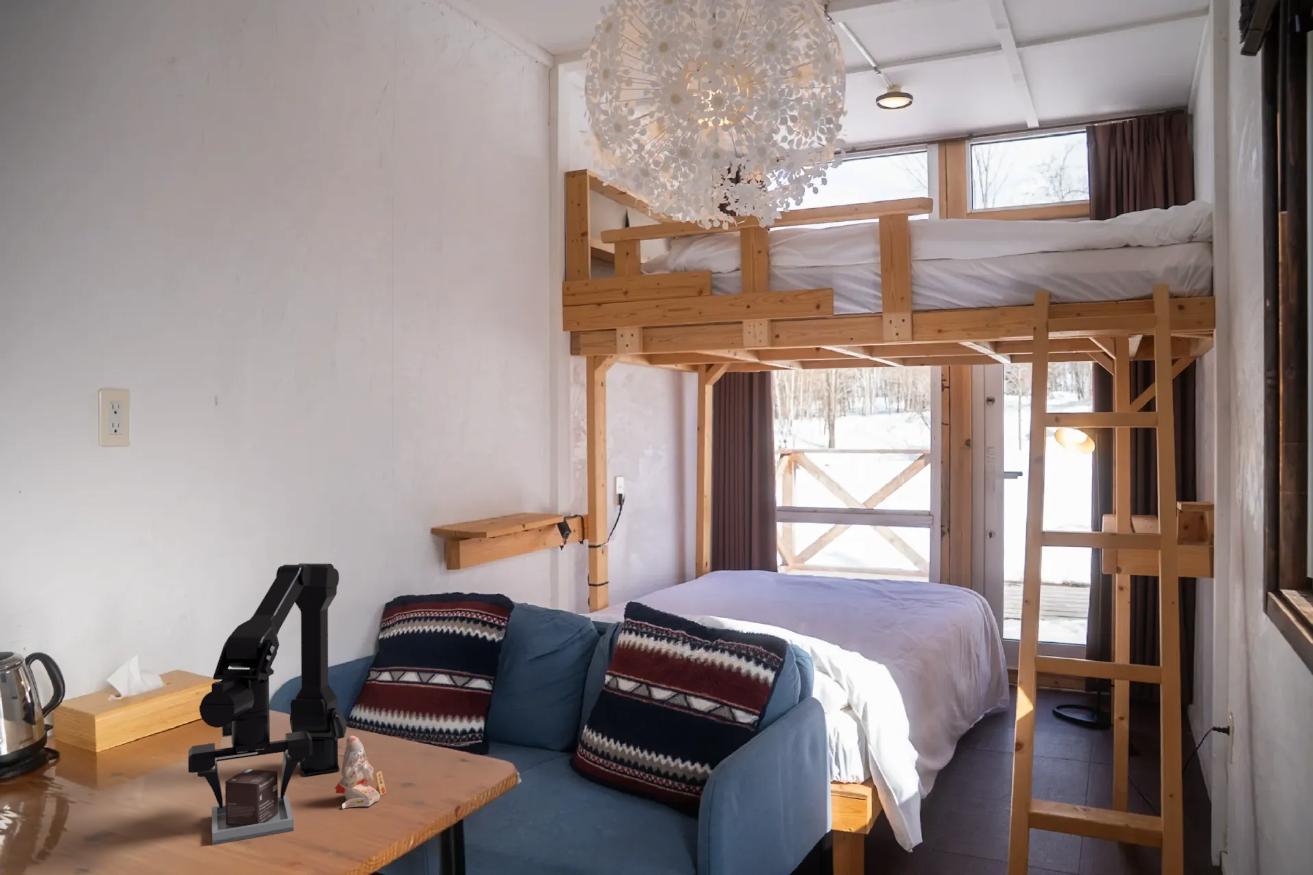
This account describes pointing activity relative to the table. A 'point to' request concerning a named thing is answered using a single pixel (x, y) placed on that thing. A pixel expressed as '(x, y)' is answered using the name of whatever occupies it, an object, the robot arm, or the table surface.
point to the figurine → (358, 777)
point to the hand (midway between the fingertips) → (251, 802)
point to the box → (251, 797)
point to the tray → (234, 833)
